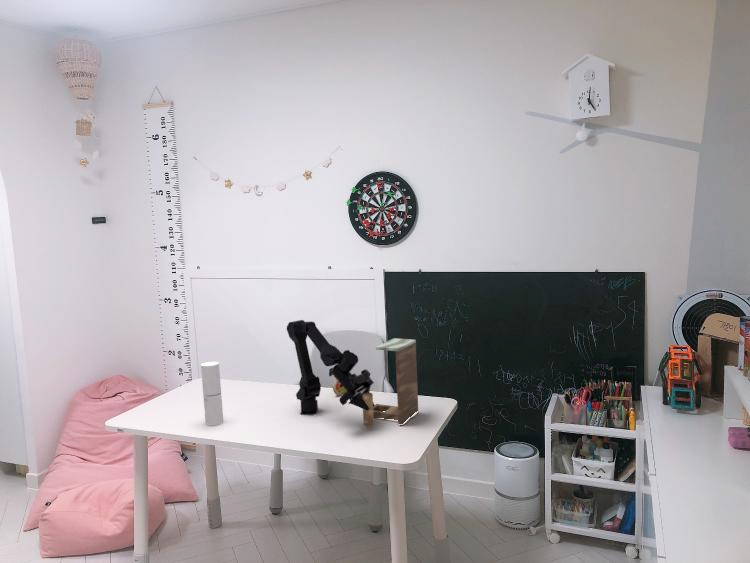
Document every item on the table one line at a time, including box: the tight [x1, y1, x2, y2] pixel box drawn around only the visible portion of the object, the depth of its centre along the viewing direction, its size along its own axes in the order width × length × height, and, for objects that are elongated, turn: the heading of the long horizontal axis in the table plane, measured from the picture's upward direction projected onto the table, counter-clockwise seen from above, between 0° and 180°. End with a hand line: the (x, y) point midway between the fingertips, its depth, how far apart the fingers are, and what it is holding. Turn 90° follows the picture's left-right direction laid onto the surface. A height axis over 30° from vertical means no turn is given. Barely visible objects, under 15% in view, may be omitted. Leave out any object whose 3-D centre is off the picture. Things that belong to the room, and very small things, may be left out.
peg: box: [362, 392, 375, 427], centre depth 234 cm, size 4×4×12 cm
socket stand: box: [373, 337, 419, 424], centre depth 245 cm, size 18×16×31 cm
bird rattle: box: [332, 375, 346, 397], centre depth 278 cm, size 6×11×9 cm
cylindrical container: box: [200, 361, 224, 427], centre depth 247 cm, size 7×7×25 cm
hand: (371, 408), depth 233 cm, fingers closed on peg, 4 cm apart
